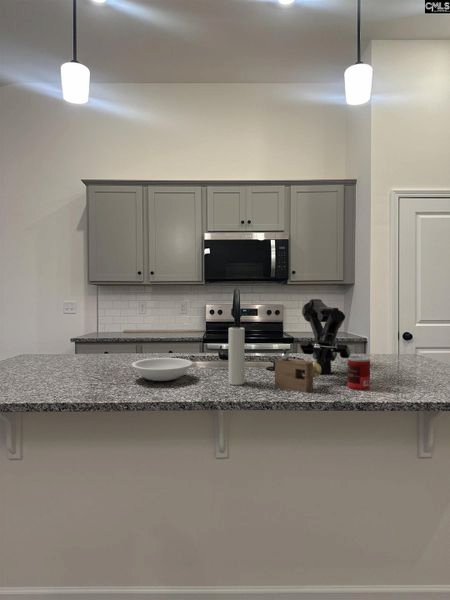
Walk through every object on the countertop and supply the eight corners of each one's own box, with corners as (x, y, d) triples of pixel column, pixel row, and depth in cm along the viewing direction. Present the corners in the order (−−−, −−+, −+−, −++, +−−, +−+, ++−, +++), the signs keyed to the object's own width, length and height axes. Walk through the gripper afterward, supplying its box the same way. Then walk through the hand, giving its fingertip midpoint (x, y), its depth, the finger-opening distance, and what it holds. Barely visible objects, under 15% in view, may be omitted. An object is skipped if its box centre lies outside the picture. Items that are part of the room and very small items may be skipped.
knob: (307, 375, 148) (307, 360, 148) (321, 377, 144) (321, 362, 144) (298, 378, 142) (299, 363, 142) (313, 380, 138) (313, 365, 138)
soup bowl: (205, 379, 154) (205, 362, 154) (156, 390, 137) (156, 372, 136) (167, 370, 171) (167, 355, 170) (119, 379, 153) (119, 363, 153)
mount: (283, 383, 148) (283, 357, 147) (314, 388, 140) (314, 361, 140) (274, 387, 142) (275, 360, 142) (305, 392, 135) (306, 364, 134)
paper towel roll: (239, 386, 143) (239, 328, 142) (225, 384, 146) (225, 327, 146) (248, 382, 149) (248, 327, 149) (235, 380, 152) (235, 326, 152)
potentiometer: (280, 359, 142) (280, 348, 142) (286, 359, 143) (286, 348, 143) (283, 360, 140) (283, 349, 140) (289, 360, 141) (289, 349, 141)
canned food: (369, 386, 144) (369, 356, 144) (370, 391, 137) (370, 360, 136) (347, 384, 147) (348, 355, 146) (347, 389, 139) (347, 359, 139)
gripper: (356, 348, 155) (348, 382, 147) (312, 345, 166) (302, 375, 157) (350, 331, 148) (341, 365, 140) (305, 328, 159) (293, 360, 150)
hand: (319, 367), depth 147 cm, fingers closed
